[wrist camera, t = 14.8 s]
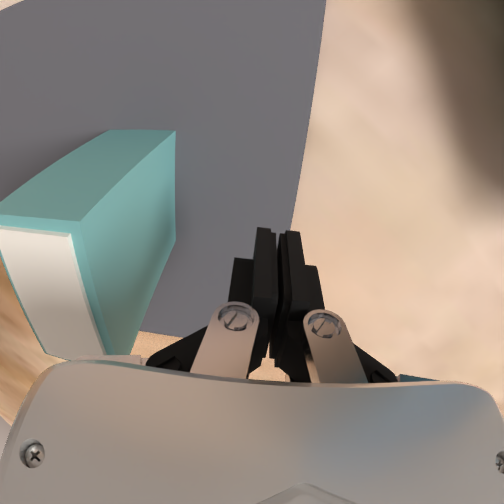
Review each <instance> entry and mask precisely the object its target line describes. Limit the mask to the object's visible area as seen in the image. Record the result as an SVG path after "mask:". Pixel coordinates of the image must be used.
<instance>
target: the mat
mask: <svg viewBox="0 0 504 504" xmlns="http://www.w3.org/2000/svg"><path fill="white" fill-rule="evenodd" d="M325 6H326V0H24V1H21V2H19V3H16V4H14V5H12V6H10V7H7V8H5V9H3V10H1V11H0V202H1V201H2V200H4V199H5V198H6V197H7V196H9V195H10V194H11V193H13V192H14V191H15V190H17V189H18V188H19V187H21V186H22V185H23V184H25V183H26V182H27V181H29V180H30V179H32V178H33V177H34V176H36V175H37V174H39V173H40V172H41V171H43V170H44V169H46V168H47V167H49V166H50V165H52V164H53V163H55V162H56V161H58V160H59V159H61V158H63V157H64V156H66V155H67V154H69V153H70V152H72V151H74V150H75V149H77V148H79V147H80V146H82V145H84V144H85V143H87V142H89V141H90V140H92V139H94V138H96V137H97V136H99V135H101V134H103V133H104V132H106V131H108V130H172V131H176V136H175V231H176V241H175V244H174V246H173V248H172V250H171V253H170V255H169V257H168V260H167V262H166V264H165V267H164V269H163V271H162V274H161V276H160V279H159V281H158V283H157V286H156V288H155V291H154V293H153V296H152V298H151V301H150V303H149V306H148V308H147V311H146V313H145V316H144V318H143V321H142V323H141V326H140V329H139V331H144V332H150V333H156V334H163V335H169V336H176V337H183V338H185V337H187V336H189V335H191V334H192V333H194V332H196V331H198V330H200V329H202V328H204V327H206V326H207V325H209V323H210V320H211V318H212V315H213V313H214V311H215V310H216V308H217V307H219V306H220V305H221V304H224V303H227V302H228V296H229V289H230V283H231V276H232V269H233V262H234V257H236V258H246V259H253V254H254V247H255V239H256V231H257V227H263V228H271V232H274V233H276V244H277V246H278V240H279V235H280V233H283V234H285V231H286V230H289V231H290V228H291V223H292V217H293V212H294V206H295V201H296V195H297V190H298V184H299V179H300V173H301V167H302V161H303V155H304V149H305V143H306V137H307V131H308V125H309V119H310V113H311V106H312V100H313V93H314V86H315V80H316V73H317V66H318V59H319V52H320V44H321V37H322V29H323V22H324V14H325Z"/></svg>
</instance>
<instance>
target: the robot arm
mask: <svg viewBox="0 0 504 504" xmlns="http://www.w3.org/2000/svg"><path fill="white" fill-rule="evenodd" d="M268 344H269V358H272V359H275V367H279V368H280V369H281V370H283V371H284V372H285V373H286V375H285V382H280V381H265V380H253V379H249V374H250V373H251V372H252V371H254V370H255V369H257V368H258V367H260V366H261V362H262V358H265V357H266V353H267V349H268ZM0 504H504V417H503V415H502V413H501V410H500V408H499V406H498V404H497V402H496V401H495V399H494V398H493V397H492V395H491V394H490V393H489V392H487V391H486V390H484V389H482V388H480V387H478V386H475V385H472V384H468V383H463V382H457V381H439V380H433V379H426V378H420V377H414V376H408V375H403V374H400V375H399V376H398V377H397V376H395V375H394V373H393V372H392V371H390V370H389V369H388V368H387V367H385V366H384V365H382V364H381V363H380V362H378V361H377V360H376V359H374V358H373V357H371V356H370V355H369V354H367V353H366V352H365V351H363V350H362V349H360V348H359V347H358V346H356V345H355V344H354V343H353V342H352V340H351V337H350V335H349V332H348V330H347V327H346V325H345V323H344V321H343V320H342V318H340V317H339V316H338V315H337V314H335V313H333V312H331V311H328V310H325V307H324V301H323V296H322V291H321V285H320V280H319V275H318V270H317V267H316V266H311V265H305V261H304V255H303V248H302V242H301V236H300V232H297V231H289V230H286V231H285V234H283V233H280V235H279V240H278V246H277V244H276V233H274V232H271V228H263V227H257V231H256V239H255V247H254V254H253V259H246V258H236V257H234V262H233V269H232V276H231V283H230V289H229V296H228V302H227V303H224V304H221V305H220V306H219V307H217V308H216V310H215V311H214V313H213V315H212V318H211V320H210V323H209V325H207V326H206V327H204V328H202V329H200V330H198V331H196V332H194V333H192V334H191V335H189V336H187V337H185V338H183V339H181V340H179V341H177V342H175V343H173V344H171V345H170V346H168V347H166V348H164V349H162V350H160V351H158V352H156V353H155V354H153V355H152V356H150V358H141V355H84V356H81V357H79V358H77V359H76V360H75V361H67V362H62V363H59V364H56V365H53V366H51V367H49V368H47V369H46V370H45V371H44V372H42V373H41V375H40V376H39V377H38V378H37V379H36V381H35V382H34V383H33V385H32V387H31V388H30V390H29V391H28V393H27V395H26V397H25V399H24V401H23V402H22V404H21V407H20V409H19V411H18V413H17V416H16V418H15V420H14V423H13V425H12V427H11V430H10V433H9V436H8V438H7V442H6V444H5V448H4V450H3V454H2V457H1V460H0Z"/></svg>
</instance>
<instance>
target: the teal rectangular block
mask: <svg viewBox="0 0 504 504" xmlns="http://www.w3.org/2000/svg"><path fill="white" fill-rule="evenodd" d="M175 136H176V131H172V130H108V131H106V132H104V133H103V134H101V135H99V136H97V137H96V138H94V139H92V140H90V141H89V142H87V143H85V144H84V145H82V146H80V147H79V148H77V149H75V150H74V151H72V152H70V153H69V154H67V155H66V156H64V157H63V158H61V159H59V160H58V161H56V162H55V163H53V164H52V165H50V166H49V167H47V168H46V169H44V170H43V171H41V172H40V173H39V174H37V175H36V176H34V177H33V178H32V179H30V180H29V181H27V182H26V183H25V184H23V185H22V186H21V187H19V188H18V189H17V190H15V191H14V192H13V193H11V194H10V195H9V196H7V197H6V198H5V199H4V200H2V201H1V202H0V256H1V259H2V262H3V265H4V267H5V270H6V272H7V275H8V277H9V280H10V282H11V285H12V287H13V289H14V292H15V294H16V296H17V299H18V301H19V303H20V305H21V307H22V310H23V312H24V314H25V316H26V318H27V320H28V322H29V324H30V326H31V328H32V330H33V332H34V334H35V336H36V338H37V339H38V341H39V343H40V345H41V347H42V349H43V350H44V352H45V353H46V354H49V355H52V356H55V357H58V358H62V359H65V360H69V361H75V360H76V359H77V358H79V357H81V356H84V355H130V353H131V350H132V347H133V345H134V342H135V339H136V337H137V334H138V331H139V329H140V326H141V323H142V321H143V318H144V316H145V313H146V311H147V308H148V306H149V303H150V301H151V298H152V296H153V293H154V291H155V288H156V286H157V283H158V281H159V279H160V276H161V274H162V271H163V269H164V267H165V264H166V262H167V260H168V257H169V255H170V253H171V250H172V248H173V246H174V244H175V241H176V231H175Z"/></svg>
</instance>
